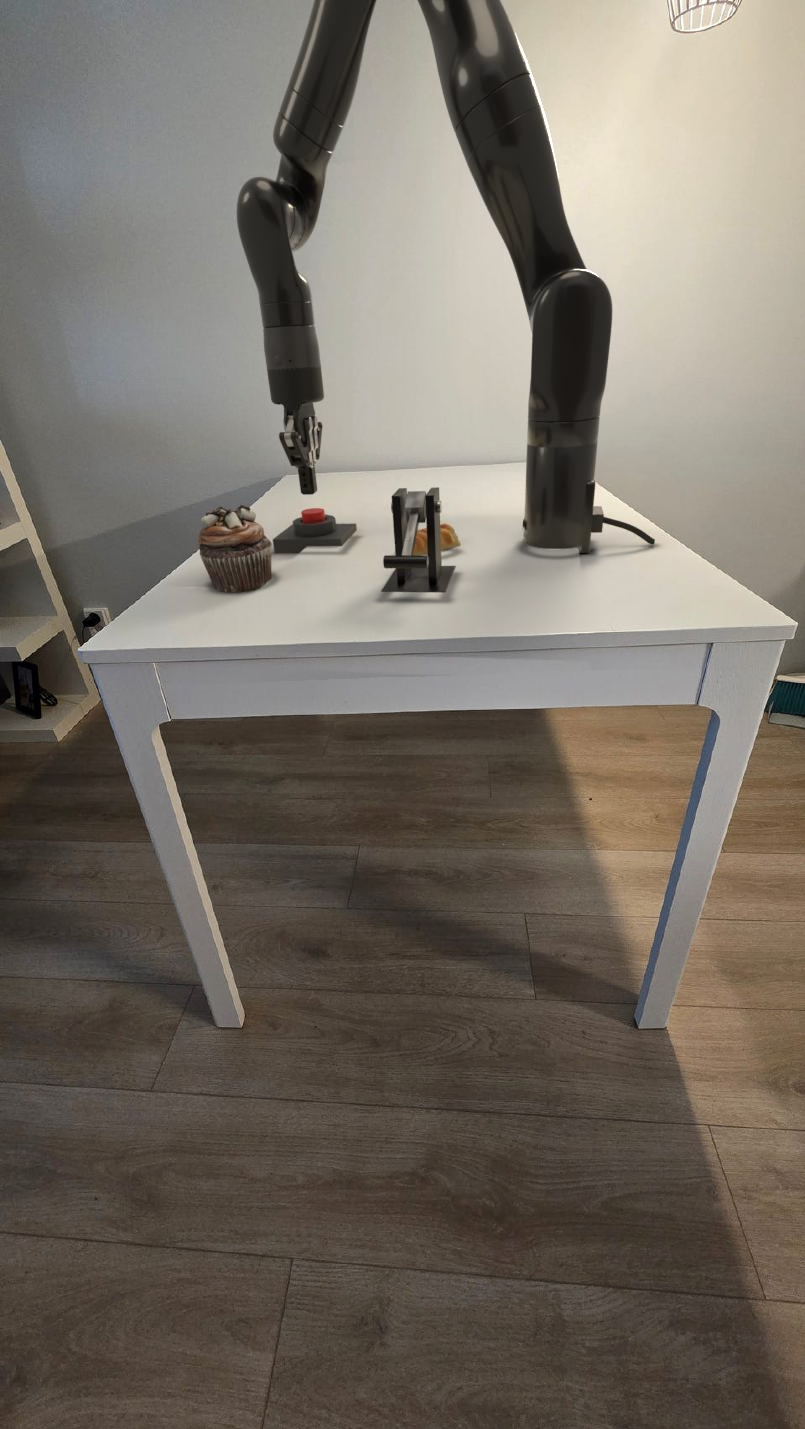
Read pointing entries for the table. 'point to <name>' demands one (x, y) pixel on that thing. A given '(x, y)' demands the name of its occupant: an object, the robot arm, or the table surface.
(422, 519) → the lever
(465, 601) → the table surface
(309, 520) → the button
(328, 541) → the control block
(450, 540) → the pastry
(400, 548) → the bracket
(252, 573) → the cupcake
